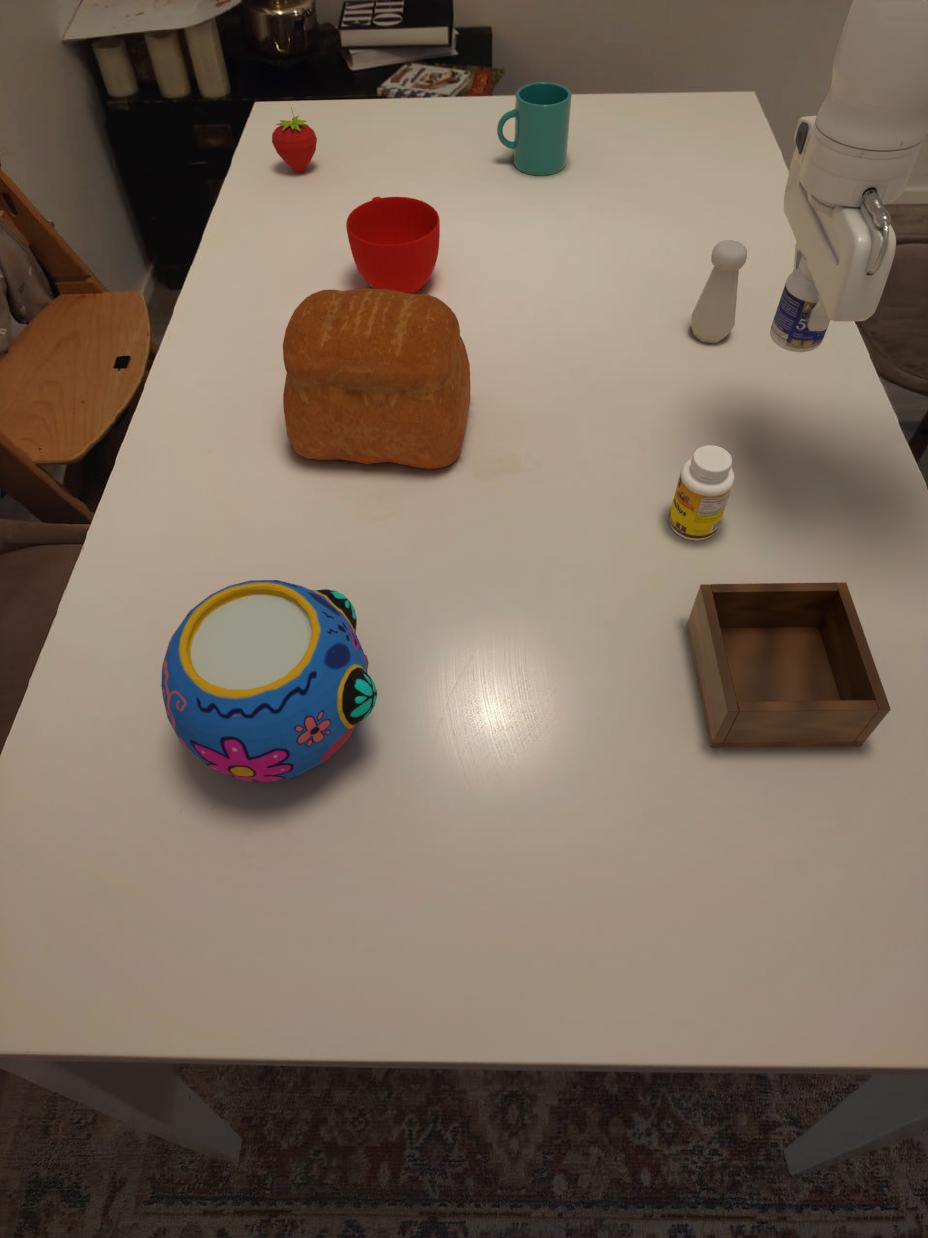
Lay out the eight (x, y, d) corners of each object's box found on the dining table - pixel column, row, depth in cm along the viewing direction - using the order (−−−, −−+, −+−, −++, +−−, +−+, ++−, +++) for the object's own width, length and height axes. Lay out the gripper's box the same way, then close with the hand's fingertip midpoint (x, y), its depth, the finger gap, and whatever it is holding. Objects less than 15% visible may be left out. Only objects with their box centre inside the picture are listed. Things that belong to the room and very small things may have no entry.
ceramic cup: (420, 242, 129) (416, 176, 121) (453, 301, 119) (451, 234, 111) (339, 257, 127) (330, 192, 118) (367, 319, 117) (358, 253, 109)
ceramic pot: (397, 780, 75) (381, 696, 63) (202, 834, 73) (146, 758, 61) (357, 630, 85) (336, 533, 73) (183, 673, 83) (132, 580, 70)
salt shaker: (699, 317, 116) (721, 228, 105) (737, 331, 114) (763, 241, 103) (680, 338, 113) (700, 248, 103) (718, 353, 111) (743, 263, 101)
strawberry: (280, 164, 144) (268, 101, 136) (323, 163, 144) (314, 101, 136) (275, 181, 141) (263, 118, 133) (319, 180, 141) (310, 117, 133)
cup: (494, 154, 145) (495, 83, 136) (562, 151, 145) (568, 80, 136) (498, 179, 140) (499, 107, 131) (568, 176, 140) (574, 104, 131)
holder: (822, 624, 85) (846, 582, 79) (860, 747, 77) (891, 709, 71) (685, 626, 85) (700, 583, 79) (709, 748, 77) (728, 711, 71)
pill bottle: (789, 359, 83) (818, 277, 76) (758, 330, 86) (783, 249, 79) (832, 345, 84) (865, 264, 77) (801, 317, 87) (829, 236, 80)
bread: (315, 378, 110) (291, 259, 96) (475, 389, 108) (474, 269, 94) (282, 470, 99) (250, 351, 86) (458, 483, 98) (455, 364, 84)
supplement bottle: (663, 507, 95) (680, 440, 86) (711, 505, 95) (733, 437, 87) (672, 544, 92) (691, 477, 83) (722, 542, 92) (746, 475, 83)
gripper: (934, 226, 65) (868, 372, 76) (862, 109, 77) (814, 250, 88) (852, 227, 65) (798, 373, 76) (793, 110, 77) (754, 251, 88)
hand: (806, 306), depth 82 cm, fingers closed on pill bottle, 5 cm apart
